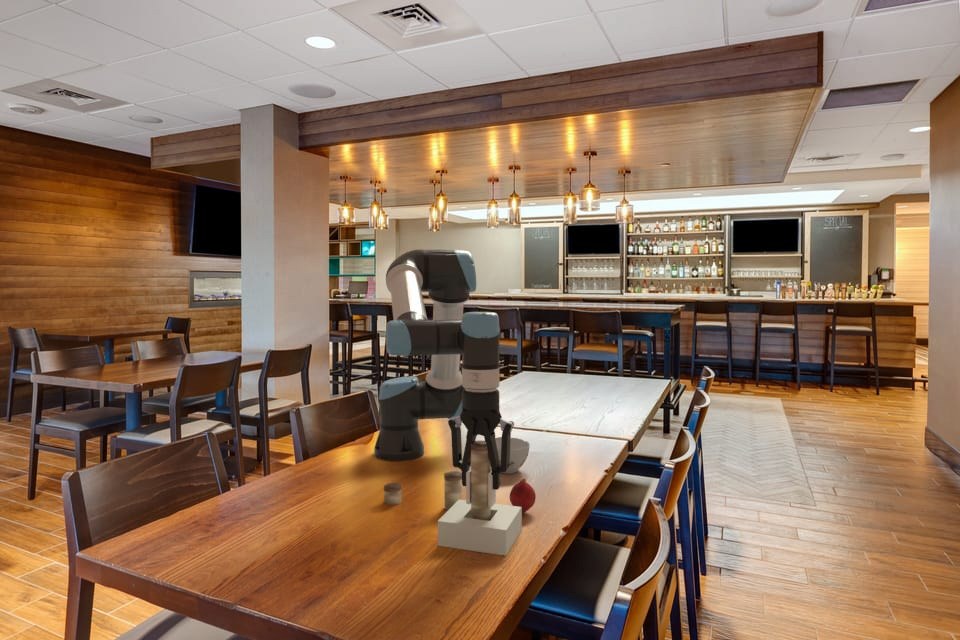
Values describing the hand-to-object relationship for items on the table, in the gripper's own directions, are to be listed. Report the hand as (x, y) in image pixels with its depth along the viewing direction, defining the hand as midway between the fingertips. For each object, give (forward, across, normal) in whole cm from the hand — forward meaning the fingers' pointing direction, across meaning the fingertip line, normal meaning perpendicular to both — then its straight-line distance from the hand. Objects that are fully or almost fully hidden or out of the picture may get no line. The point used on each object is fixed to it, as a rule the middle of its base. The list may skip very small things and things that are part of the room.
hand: (481, 502), depth 115 cm
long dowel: (+4, 0, 0) cm, 4 cm away
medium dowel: (+7, -11, +13) cm, 19 cm away
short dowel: (+7, -26, +12) cm, 30 cm away
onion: (+8, +5, +15) cm, 18 cm away
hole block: (+7, 0, 0) cm, 7 cm away
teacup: (+7, -6, +44) cm, 45 cm away
